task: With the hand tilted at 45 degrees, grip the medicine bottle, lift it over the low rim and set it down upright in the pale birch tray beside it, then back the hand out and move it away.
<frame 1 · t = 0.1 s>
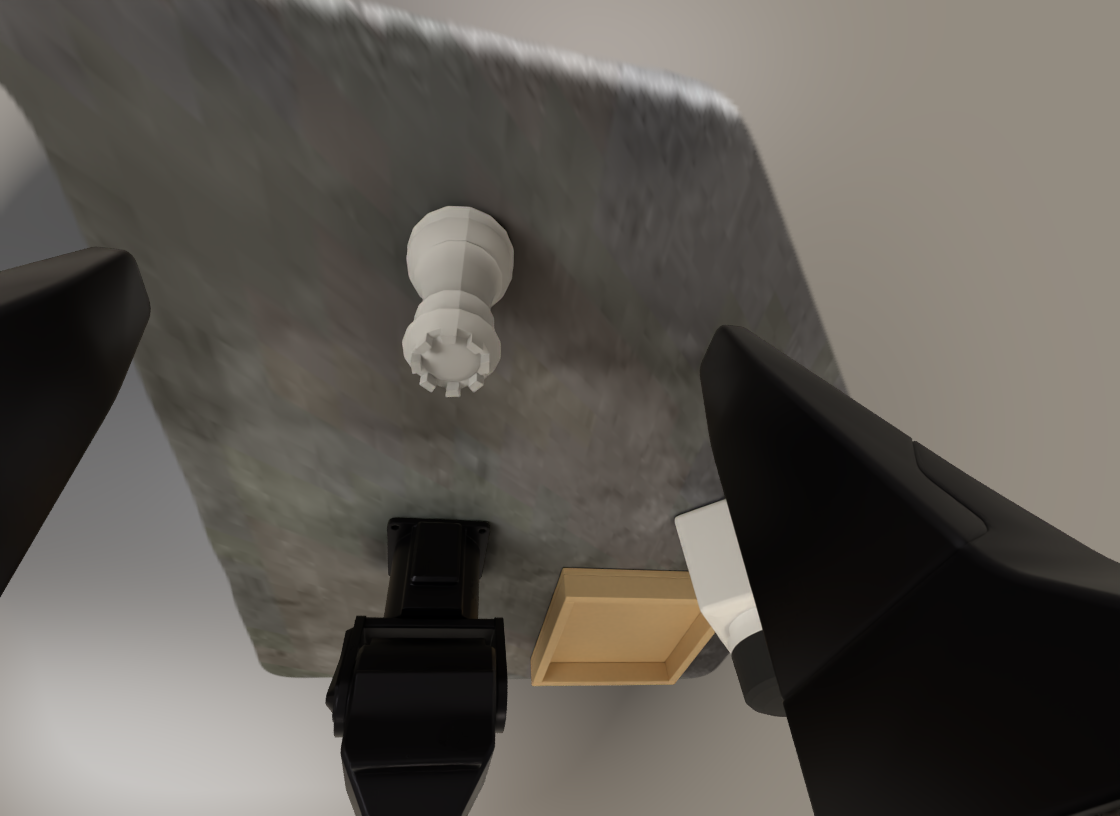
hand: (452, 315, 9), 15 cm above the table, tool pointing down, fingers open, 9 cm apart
tray: (622, 619, 48), on the table
rook chess piece: (462, 249, 24), on the table
medicine bottle: (734, 522, 40), on the table
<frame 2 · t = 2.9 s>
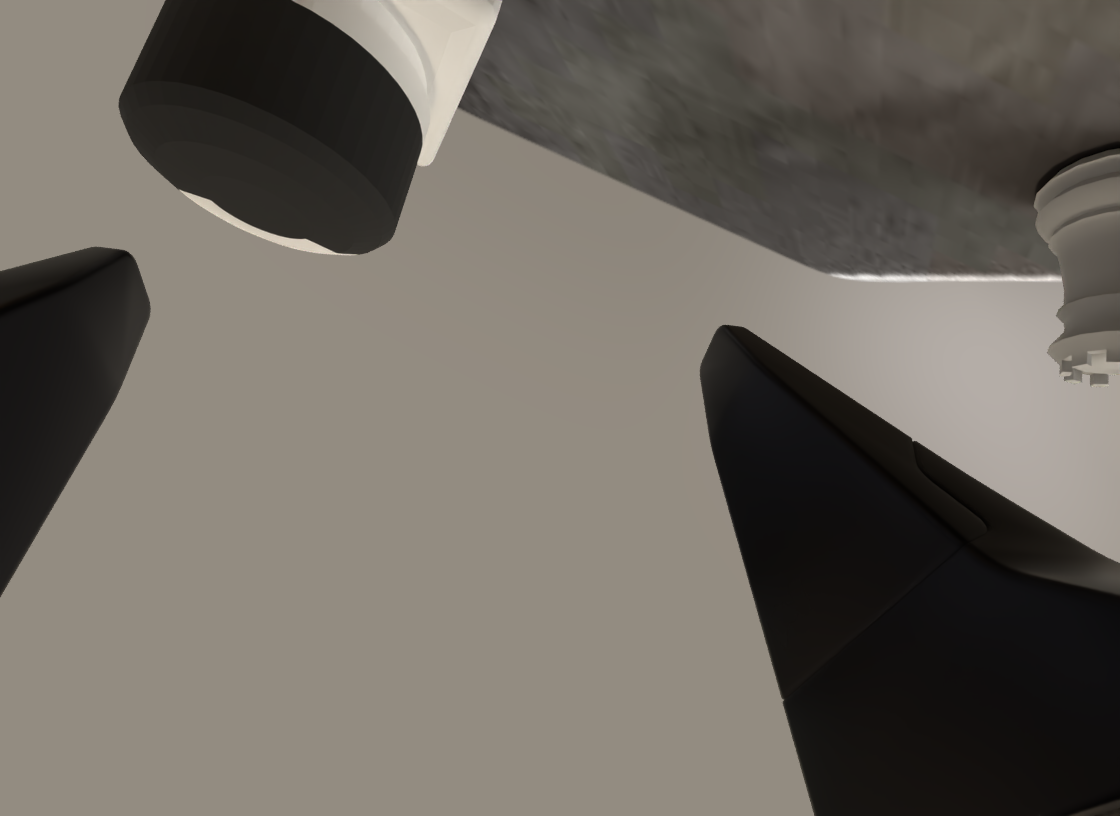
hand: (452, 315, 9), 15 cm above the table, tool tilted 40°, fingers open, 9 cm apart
rook chess piece: (1110, 176, 21), on the table
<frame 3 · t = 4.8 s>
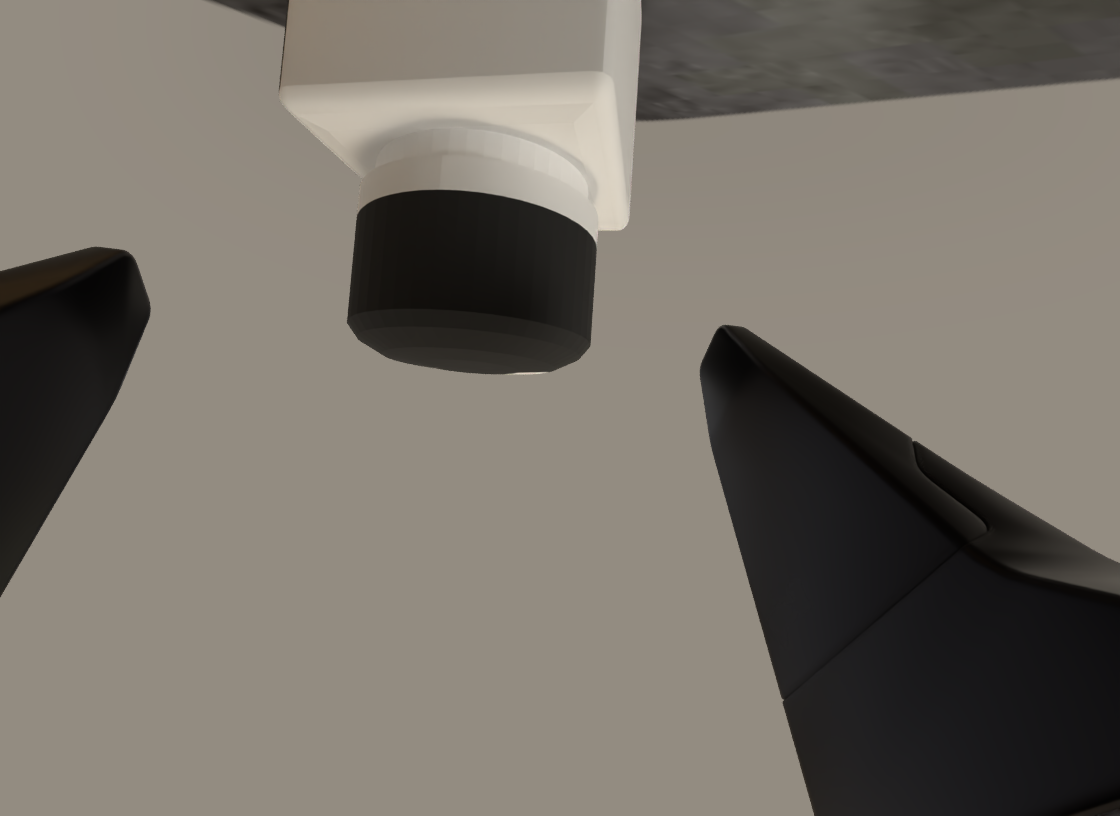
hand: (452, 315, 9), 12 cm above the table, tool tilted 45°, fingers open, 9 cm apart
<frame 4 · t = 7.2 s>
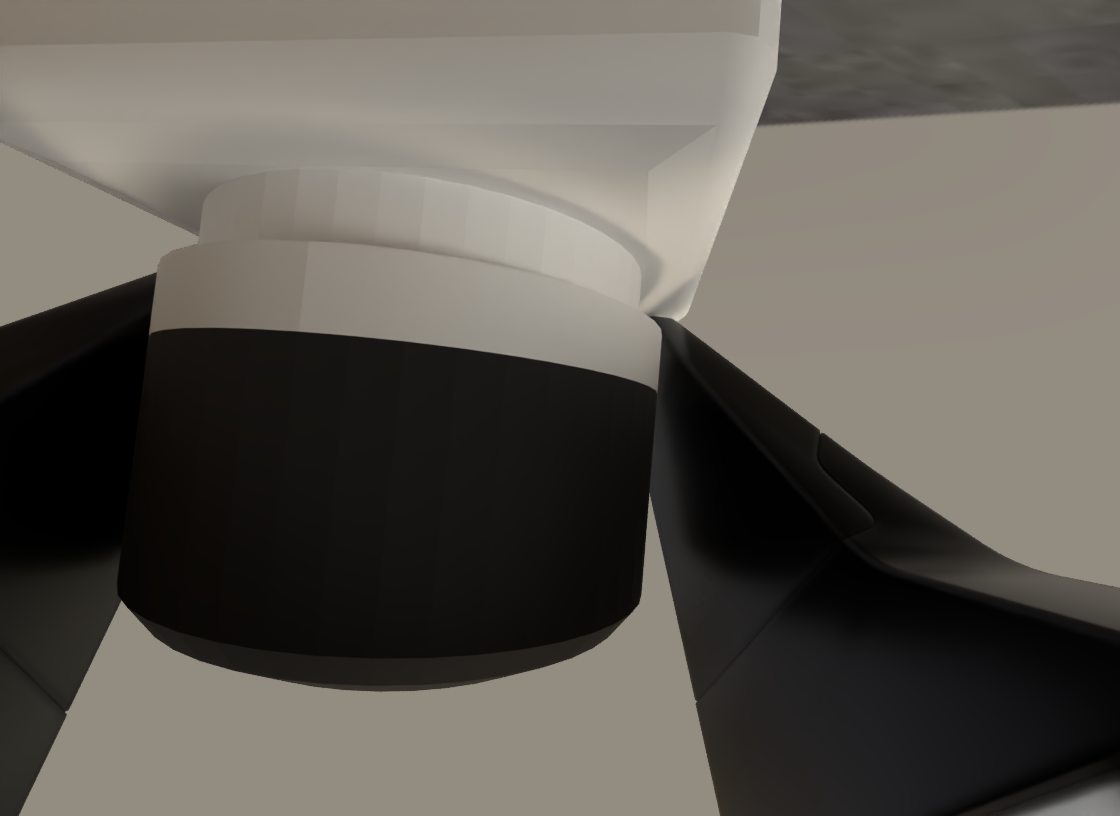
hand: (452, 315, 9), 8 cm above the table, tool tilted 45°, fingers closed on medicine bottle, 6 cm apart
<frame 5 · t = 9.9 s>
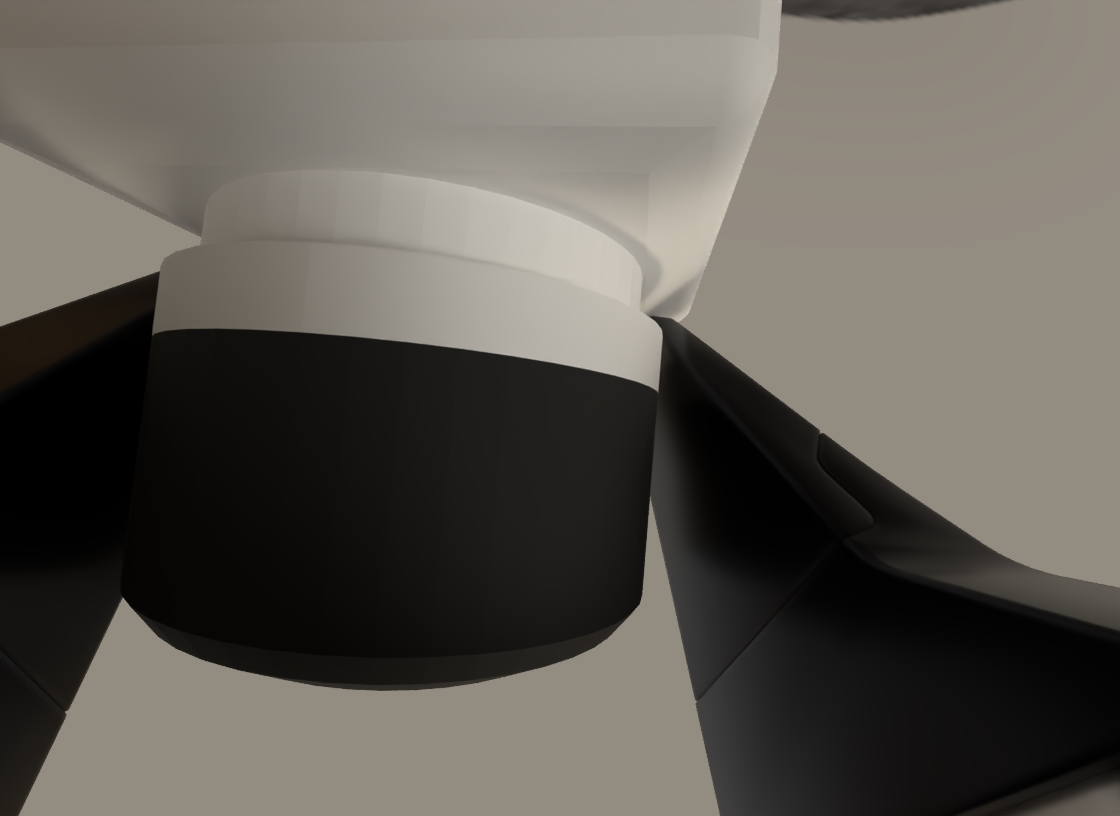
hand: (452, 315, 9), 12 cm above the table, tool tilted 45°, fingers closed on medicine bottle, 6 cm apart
when the fingers open (8 cm above the table, at t = 12.8 s): medicine bottle stays where it is, resting on tray.
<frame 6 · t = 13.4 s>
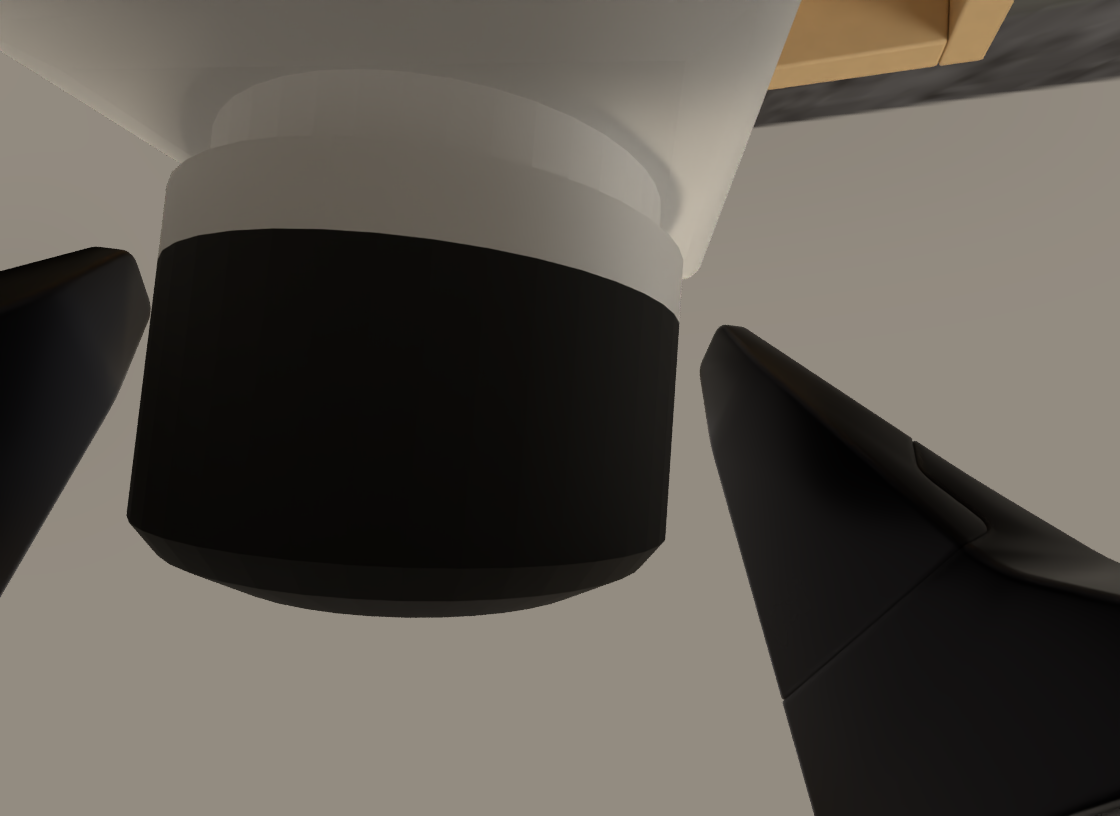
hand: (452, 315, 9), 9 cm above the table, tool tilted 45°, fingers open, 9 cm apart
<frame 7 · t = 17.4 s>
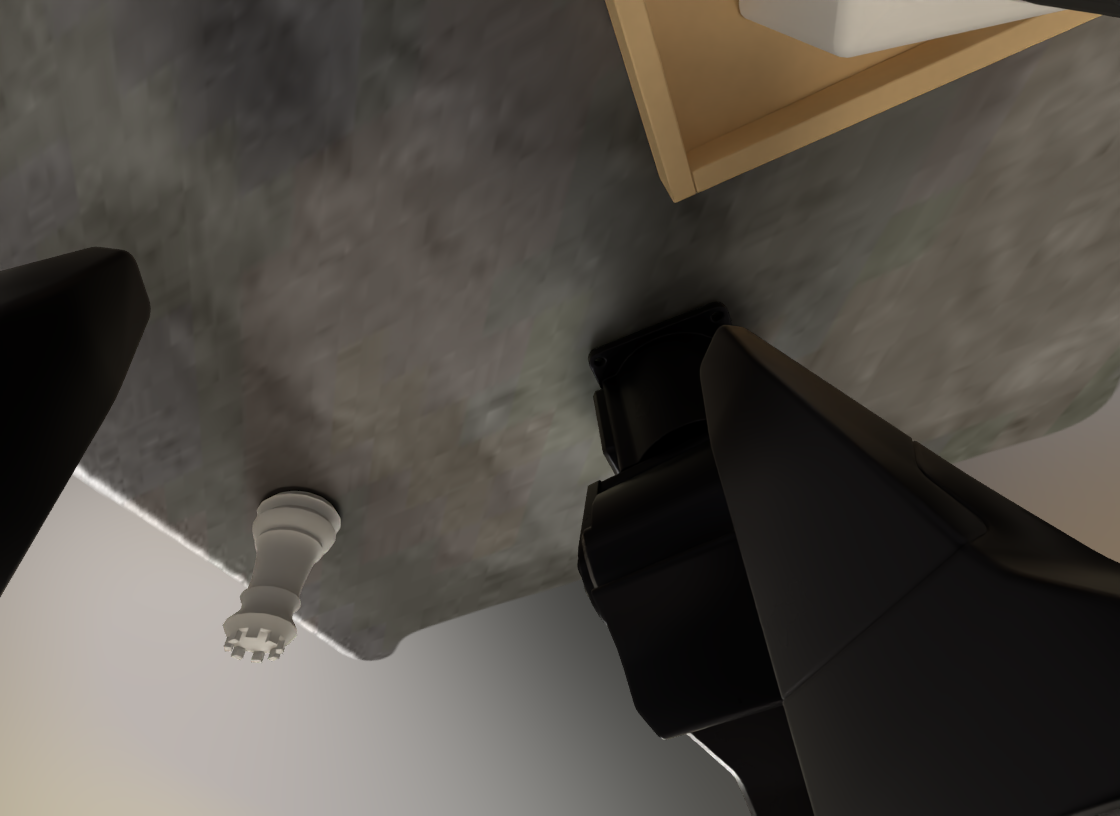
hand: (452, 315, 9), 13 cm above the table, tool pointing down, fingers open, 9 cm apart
rook chess piece: (303, 509, 32), on the table
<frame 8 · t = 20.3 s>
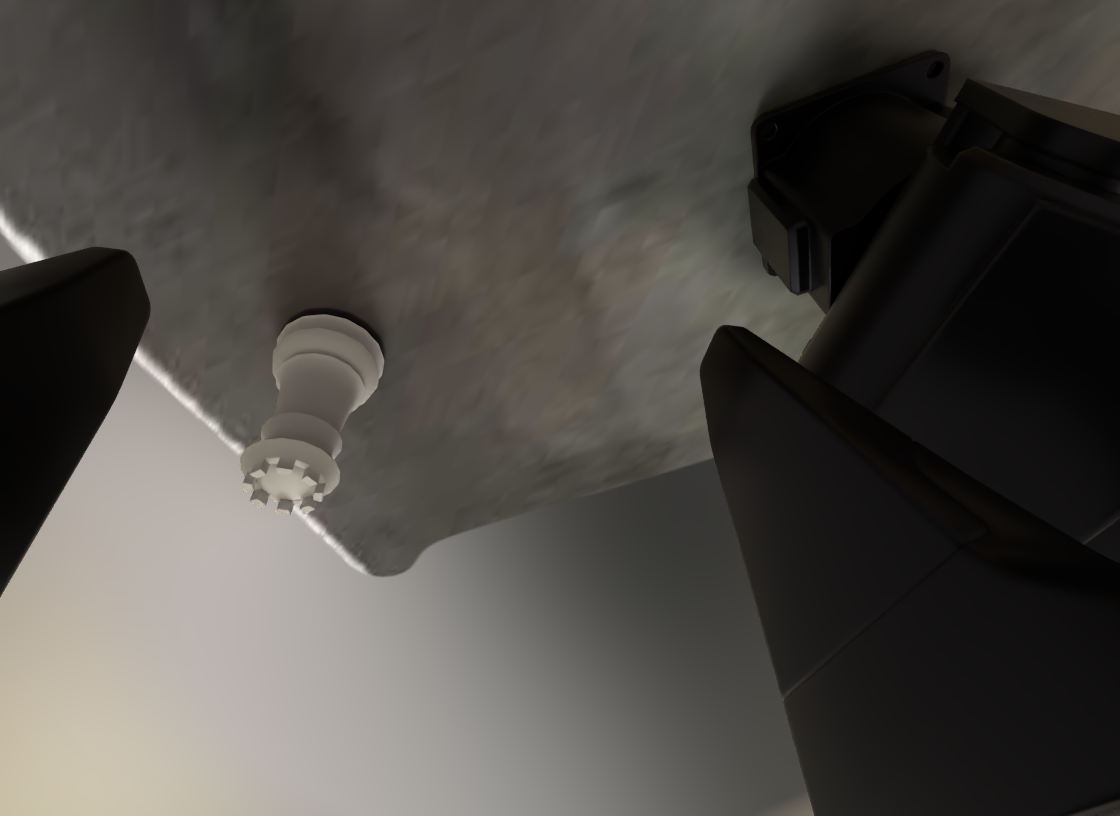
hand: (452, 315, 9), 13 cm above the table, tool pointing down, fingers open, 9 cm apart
rook chess piece: (334, 348, 25), on the table
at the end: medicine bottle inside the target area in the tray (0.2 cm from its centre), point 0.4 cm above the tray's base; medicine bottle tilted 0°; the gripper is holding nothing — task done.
